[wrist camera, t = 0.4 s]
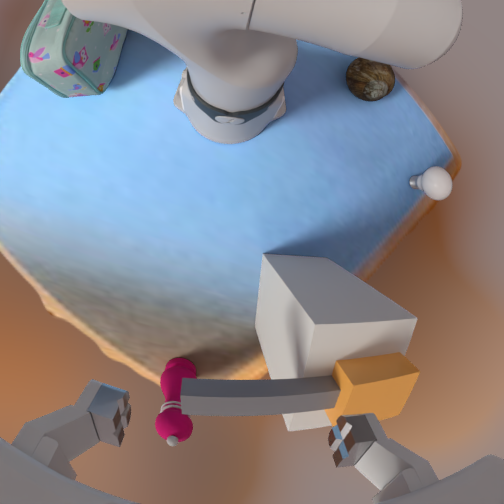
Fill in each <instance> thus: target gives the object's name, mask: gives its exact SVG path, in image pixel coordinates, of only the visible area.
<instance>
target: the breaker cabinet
mask: <svg viewBox="0 0 504 504" xmlns="http://www.w3.org/2000/svg"><path fill="white" fill-rule="evenodd" d="M416 321H417V318H416V317H415V316H414V315H412V314H411V313H409V312H408V311H407V310H405V309H404V308H402V307H401V306H399V305H398V304H396V303H395V302H393V301H392V300H391V299H389V298H388V297H386V296H385V295H383V294H382V293H380V292H379V291H377V290H375V289H374V288H373V287H371V286H369V285H368V284H367V283H365V282H364V281H362V280H361V279H359V278H358V277H356V276H355V275H353V274H352V273H350V272H348V271H347V270H345V269H344V268H342V267H341V266H339V265H338V264H336V263H335V262H333V261H331V260H330V259H328V258H325V257H309V256H293V255H277V254H263V256H262V265H261V275H260V284H259V293H258V302H257V311H256V320H255V329H256V332H257V335H258V338H259V342H260V345H261V348H262V351H263V355H264V358H265V361H266V364H267V367H268V370H269V374H270V377H271V380H272V379H293V378H307V377H319V376H329V375H332V372H333V369H334V366H335V362H336V360H346V359H355V358H363V357H371V356H378V355H385V354H391V353H397V352H400V353H401V354H402V355H404V356H405V353H406V351H407V348H408V345H409V342H410V339H411V337H412V333H413V331H414V327H415V324H416ZM283 417H284V420H285V423H286V426H287V429H288V431H297V430H305V429H312V428H319V427H325V426H331V425H332V424H331V422H330V420H329V418H328V416H327V414H326V412H325V410H317V411H309V412H300V413H289V414H283Z"/></svg>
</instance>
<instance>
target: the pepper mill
mask: <svg viewBox="0 0 504 504" xmlns="http://www.w3.org/2000/svg"><path fill="white" fill-rule="evenodd" d="M182 378H193V379H197V377H196V368H195V366H194V364H193V363H192V362H190V361H189V360H187V359H184V358H174V359H172V360H170V361H169V362H168V363H167V365H166V368H165V371H164V372H163V374H162V375H161V381H160V384H161V389H162V392H163V394H164V396H165V399H166V401H165V403H164V404H163V405H162V407H161V411H160V414H159V415H158V416H157V418H156V422H155V426H156V430H157V432H158V434H159V435H160V436H161V437H162V438H164V439H166V440H167V443H168V444H169V445H171V446H175V445H177V444H178V442H181V441H185V440H186V439H188V438H189V437H190V435H191V433H192V430H193V424H192V421H191V419H190V415H187V414H182V409H181V397H180V394H181V386H182Z"/></svg>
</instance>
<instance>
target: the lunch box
mask: <svg viewBox="0 0 504 504" xmlns="http://www.w3.org/2000/svg"><path fill="white" fill-rule="evenodd" d="M127 30H128V29H126V28H123V27H120V26H116V25H112V24H107V23H101V22H95V21H87V20H81V19H79V18H77V17H75V16H74V15H72V14H71V13H70V12H69V11H68V9H67V8H66V7H65V6H64V5H63V3H62V1H61V0H45V1H44V3H43V5H42V6H41V8H40V9H39V11H38V12H37V14H36V15H35V17H34V18H33V20H32V22H31V23H30V25H29V27H28V29H27V31H26V33H25V35H24V37H23V40H22V44H21V50H20V60H21V66H22V69H23V71H24V73H25V74H26V75H28V76H29V77H31V78H33V79H34V80H36V81H37V82H39V83H40V84H42V85H43V86H45V87H46V88H48V89H49V90H50V91H52V92H53V93H54V94H56V95H58V96H60V97H63V98H69V97H77V96H88V95H100V94H102V93H104V92H105V90H106V89H107V87H108V85H109V83H110V81H111V79H112V78H113V76H114V73H115V71H116V67H117V64H118V61H119V57H120V53H121V49H122V45H123V42H124V41H125V38H126V33H127Z"/></svg>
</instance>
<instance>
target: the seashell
mask: <svg viewBox="0 0 504 504" xmlns="http://www.w3.org/2000/svg"><path fill="white" fill-rule="evenodd" d="M346 81H347V85H348V87H349V89H350V91H351V92H352V93H353V94H354V95H355V96H356V97H358V98H360V99H362V100H365V101H377V100H380V99H381V98H383V97H384V96H386V95H388V94H389V93H390V92H391V91H392V89H393V87H394V84H395V76H394V72H393V70H392V68H391V66H390V65H389V64H384V63H380V62H376V61H372V60H368V59H363V58H357V59H355V60H354V61H353V62H352V63H351V64H350V65H349V67H348V69H347V72H346Z"/></svg>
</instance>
